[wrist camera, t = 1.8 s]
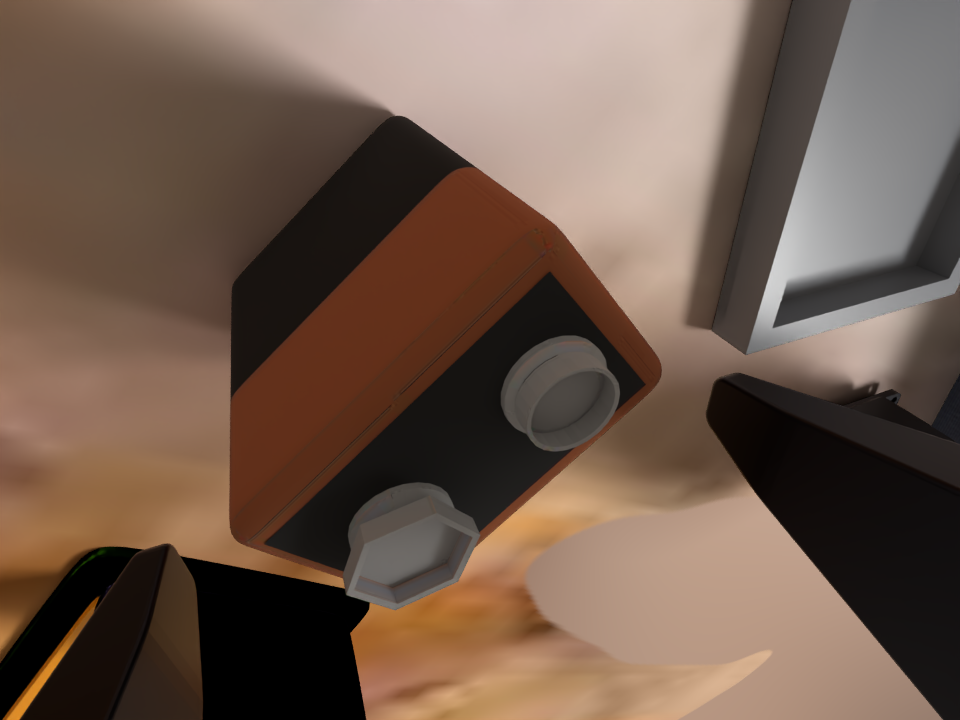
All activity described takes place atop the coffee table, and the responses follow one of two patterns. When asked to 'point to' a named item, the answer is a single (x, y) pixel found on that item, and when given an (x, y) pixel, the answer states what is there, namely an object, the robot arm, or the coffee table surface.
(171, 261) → the coffee table surface
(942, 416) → the vhs cassette tape
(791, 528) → the robot arm
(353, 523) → the battery
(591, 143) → the coffee table surface
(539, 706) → the coffee table surface
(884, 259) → the tray
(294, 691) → the business card holder
